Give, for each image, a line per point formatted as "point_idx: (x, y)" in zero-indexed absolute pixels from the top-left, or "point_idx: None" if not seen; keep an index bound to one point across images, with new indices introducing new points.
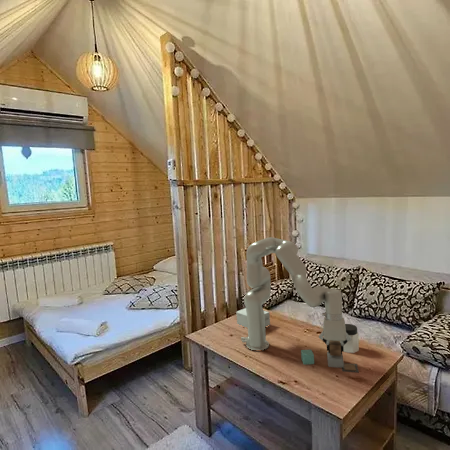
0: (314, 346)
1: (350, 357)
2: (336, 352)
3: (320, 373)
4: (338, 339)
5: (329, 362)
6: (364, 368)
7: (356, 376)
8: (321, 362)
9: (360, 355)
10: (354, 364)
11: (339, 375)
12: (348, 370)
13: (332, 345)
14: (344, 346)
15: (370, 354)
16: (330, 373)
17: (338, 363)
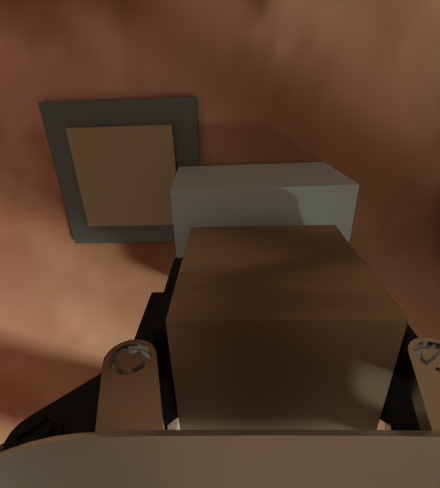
0: (379, 424)
1: (134, 330)
2: (251, 246)
3: (433, 8)
4: (194, 483)
5: (324, 174)
6: (8, 192)
7: (53, 20)
8: (373, 231)
9: (69, 361)
10: (92, 233)
11: (227, 4)
12: (136, 119)
13: (343, 317)
14: (170, 426)
15: (7, 378)
16: (320, 32)
17: (228, 174)
